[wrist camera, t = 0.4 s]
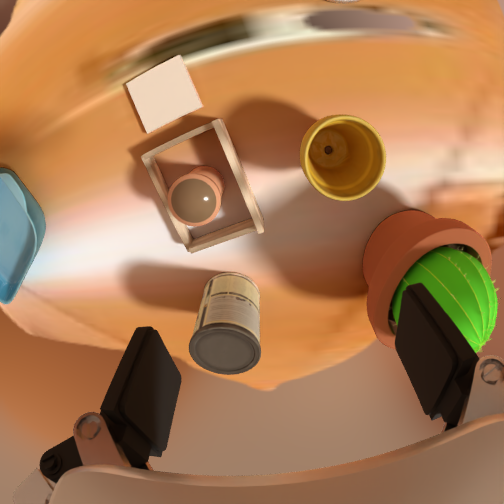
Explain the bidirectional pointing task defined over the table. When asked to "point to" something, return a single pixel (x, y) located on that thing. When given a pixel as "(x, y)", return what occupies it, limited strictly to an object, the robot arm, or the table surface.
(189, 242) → the frame
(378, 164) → the plant pot
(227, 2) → the table surface
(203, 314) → the coffee can
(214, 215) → the terracotta pot
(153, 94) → the stone tile
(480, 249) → the potted cactus
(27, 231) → the casserole dish
